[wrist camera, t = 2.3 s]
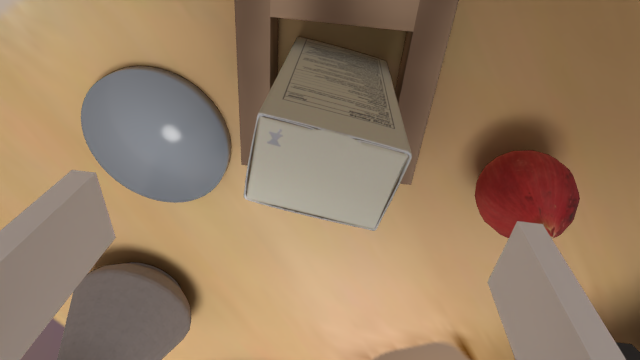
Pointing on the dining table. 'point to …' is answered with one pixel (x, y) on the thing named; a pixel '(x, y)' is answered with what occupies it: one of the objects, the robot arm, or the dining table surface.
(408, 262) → the dining table surface
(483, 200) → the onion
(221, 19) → the dining table surface
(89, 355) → the coffee pot
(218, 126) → the coaster
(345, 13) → the pocket holder
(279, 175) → the skincare box
